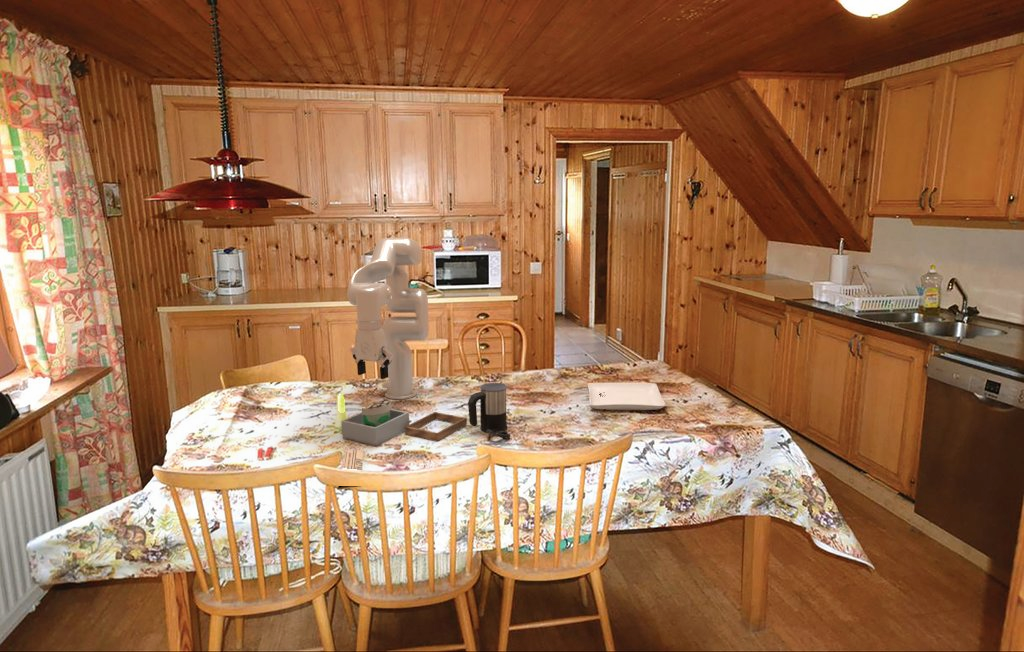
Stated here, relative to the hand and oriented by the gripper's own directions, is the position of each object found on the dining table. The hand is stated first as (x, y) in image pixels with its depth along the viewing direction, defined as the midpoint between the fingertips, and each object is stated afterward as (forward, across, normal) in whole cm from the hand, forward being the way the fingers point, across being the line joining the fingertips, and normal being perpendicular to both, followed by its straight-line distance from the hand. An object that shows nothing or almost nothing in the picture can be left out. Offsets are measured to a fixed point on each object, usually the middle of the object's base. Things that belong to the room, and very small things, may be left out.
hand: (373, 376), depth 205 cm
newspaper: (+21, +13, -24) cm, 34 cm away
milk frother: (+20, +35, +19) cm, 45 cm away
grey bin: (+20, 0, 0) cm, 20 cm away
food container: (+20, +2, 0) cm, 20 cm away
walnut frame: (+20, +16, +12) cm, 28 cm away
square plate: (+21, +62, +69) cm, 95 cm away
